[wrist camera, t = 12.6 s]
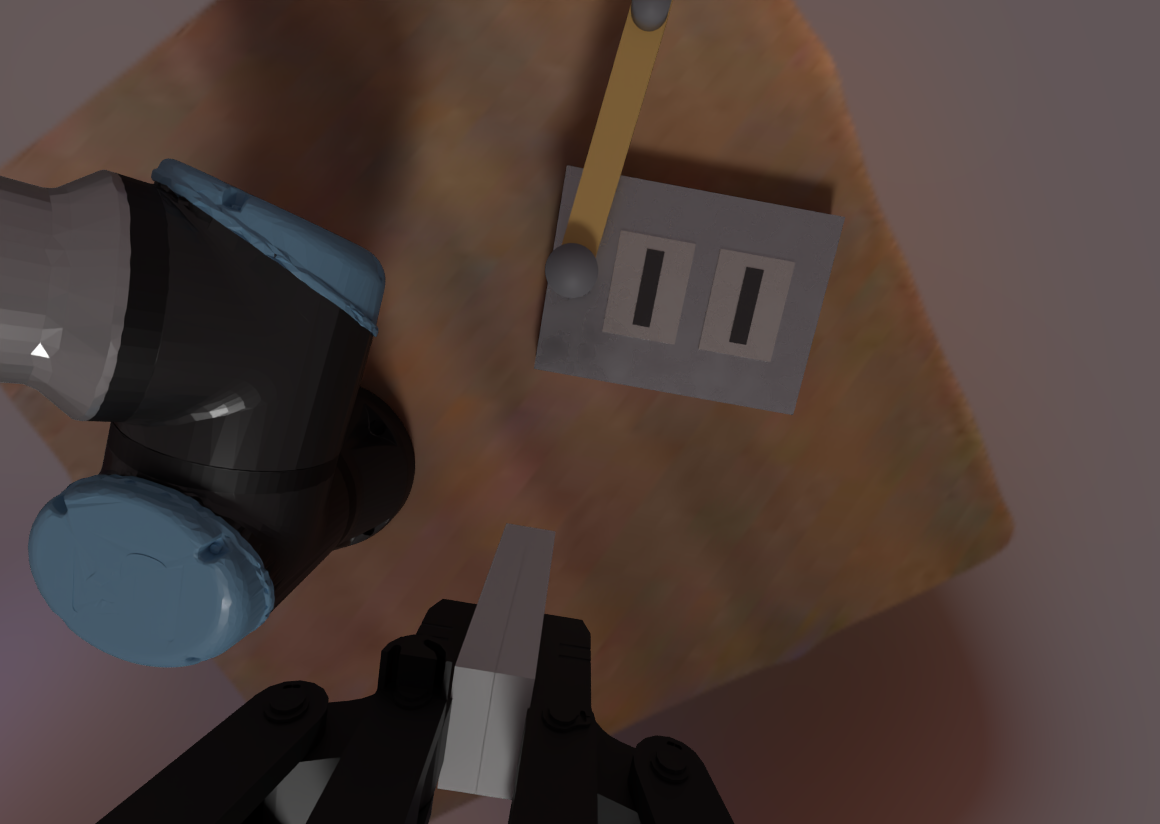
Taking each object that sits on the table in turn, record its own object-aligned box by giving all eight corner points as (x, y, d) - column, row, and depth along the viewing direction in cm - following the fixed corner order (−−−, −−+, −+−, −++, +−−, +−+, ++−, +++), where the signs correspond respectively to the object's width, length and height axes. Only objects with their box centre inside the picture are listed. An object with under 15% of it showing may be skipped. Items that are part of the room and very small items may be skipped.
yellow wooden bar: (589, 304, 42) (589, 304, 37) (544, 289, 42) (538, 288, 37) (675, 22, 38) (686, -15, 33) (625, 5, 38) (630, -34, 33)
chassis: (536, 365, 48) (531, 371, 43) (568, 172, 45) (565, 158, 40) (782, 409, 48) (802, 420, 44) (831, 221, 45) (857, 213, 41)
